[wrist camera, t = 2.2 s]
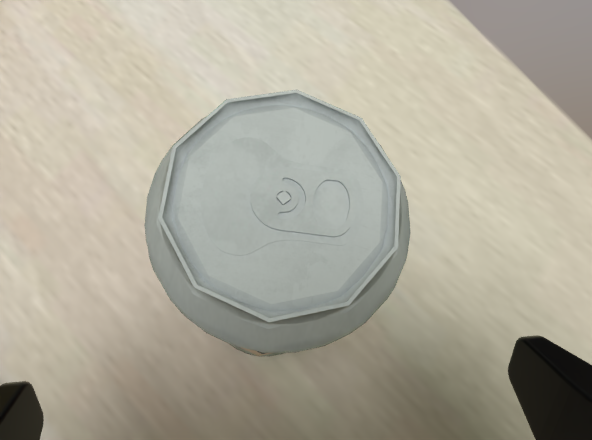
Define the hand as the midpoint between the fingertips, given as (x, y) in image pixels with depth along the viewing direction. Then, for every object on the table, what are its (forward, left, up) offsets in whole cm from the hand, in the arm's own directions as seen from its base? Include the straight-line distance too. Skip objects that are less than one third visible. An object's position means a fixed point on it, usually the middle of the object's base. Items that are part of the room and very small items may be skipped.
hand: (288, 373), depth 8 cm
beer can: (+3, +1, -10) cm, 11 cm away
